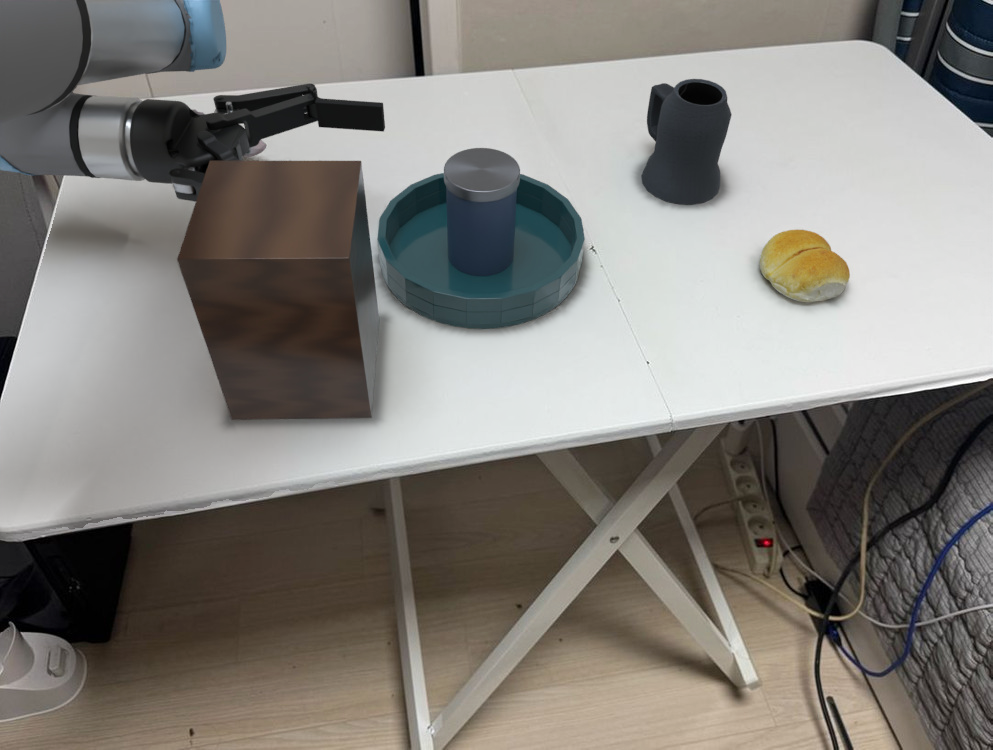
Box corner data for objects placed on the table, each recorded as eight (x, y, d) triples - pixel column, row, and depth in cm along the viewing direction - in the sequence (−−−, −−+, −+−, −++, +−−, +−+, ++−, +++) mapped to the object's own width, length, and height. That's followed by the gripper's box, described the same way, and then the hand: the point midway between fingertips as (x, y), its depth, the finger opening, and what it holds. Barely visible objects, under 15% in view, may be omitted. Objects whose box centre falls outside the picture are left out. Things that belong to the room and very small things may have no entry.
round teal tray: (375, 330, 79) (371, 299, 76) (386, 199, 93) (383, 168, 90) (590, 328, 80) (595, 297, 77) (569, 198, 94) (573, 168, 91)
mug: (735, 193, 95) (761, 104, 87) (668, 212, 92) (688, 122, 84) (678, 139, 102) (696, 52, 94) (614, 155, 99) (627, 67, 91)
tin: (445, 277, 83) (443, 192, 76) (446, 232, 88) (443, 147, 80) (517, 277, 84) (522, 191, 76) (513, 232, 88) (517, 147, 81)
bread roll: (810, 241, 90) (821, 211, 87) (856, 296, 84) (870, 266, 81) (741, 254, 88) (751, 224, 85) (783, 311, 82) (795, 280, 79)
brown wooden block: (231, 419, 71) (176, 259, 58) (253, 321, 79) (209, 160, 66) (371, 417, 72) (349, 258, 58) (379, 320, 80) (361, 160, 66)
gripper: (197, 106, 89) (395, 120, 88) (105, 258, 72) (348, 276, 71) (179, 38, 83) (390, 52, 82) (74, 186, 66) (337, 204, 66)
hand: (371, 156), depth 77 cm, fingers open, 13 cm apart
